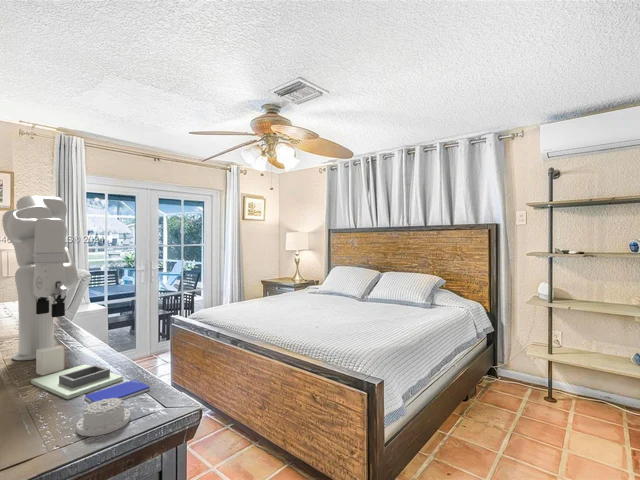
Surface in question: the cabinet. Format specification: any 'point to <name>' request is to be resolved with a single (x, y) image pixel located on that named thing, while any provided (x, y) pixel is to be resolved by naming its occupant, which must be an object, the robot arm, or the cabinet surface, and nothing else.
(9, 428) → the cabinet surface
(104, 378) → the socket board
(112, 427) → the mechanical component
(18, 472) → the cabinet surface
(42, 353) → the plug
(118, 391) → the hard drive
